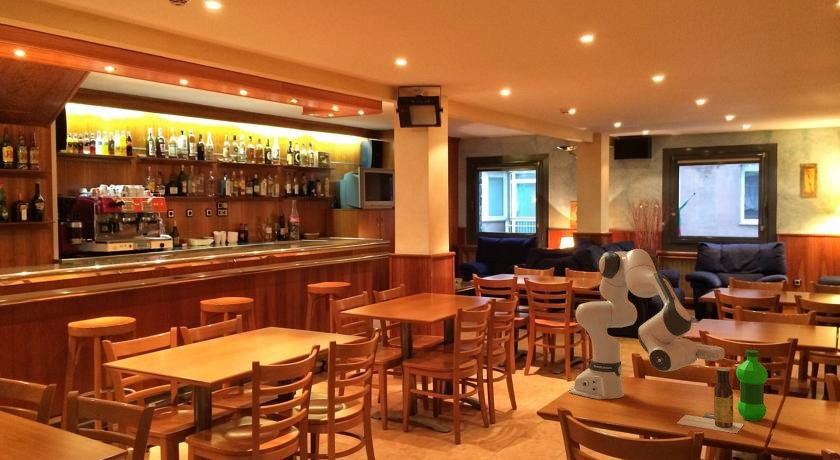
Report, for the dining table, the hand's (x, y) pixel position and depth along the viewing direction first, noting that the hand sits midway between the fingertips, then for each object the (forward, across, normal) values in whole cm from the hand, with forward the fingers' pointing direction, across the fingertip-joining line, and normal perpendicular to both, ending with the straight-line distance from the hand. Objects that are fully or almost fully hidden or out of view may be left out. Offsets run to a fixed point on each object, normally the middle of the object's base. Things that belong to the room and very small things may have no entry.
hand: (702, 346), depth 240 cm
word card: (+18, +3, +30) cm, 35 cm away
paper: (+8, 0, +30) cm, 31 cm away
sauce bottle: (+9, -4, +30) cm, 31 cm away
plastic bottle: (+25, -7, +30) cm, 40 cm away
